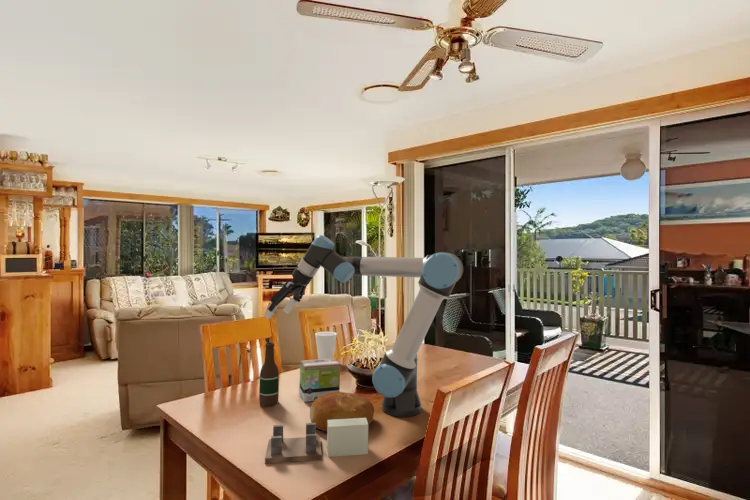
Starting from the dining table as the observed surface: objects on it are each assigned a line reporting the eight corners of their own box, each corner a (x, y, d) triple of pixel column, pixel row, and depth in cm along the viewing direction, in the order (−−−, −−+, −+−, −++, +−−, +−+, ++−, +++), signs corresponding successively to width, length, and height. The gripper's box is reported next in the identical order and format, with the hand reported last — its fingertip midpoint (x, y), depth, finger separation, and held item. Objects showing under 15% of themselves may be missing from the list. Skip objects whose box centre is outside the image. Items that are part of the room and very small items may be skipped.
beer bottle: (273, 408, 158) (274, 345, 158) (255, 406, 160) (255, 344, 160) (282, 400, 166) (282, 341, 166) (264, 399, 168) (265, 340, 168)
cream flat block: (365, 446, 129) (365, 417, 129) (367, 454, 124) (368, 424, 124) (327, 448, 127) (327, 419, 127) (327, 457, 122) (328, 426, 122)
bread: (353, 406, 162) (353, 380, 162) (386, 428, 142) (386, 399, 142) (298, 418, 150) (299, 390, 150) (326, 444, 130) (327, 412, 130)
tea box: (303, 403, 164) (304, 366, 164) (299, 394, 173) (299, 359, 173) (340, 398, 169) (340, 362, 169) (333, 390, 179) (333, 356, 179)
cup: (315, 360, 228) (315, 331, 228) (336, 359, 229) (336, 331, 229) (314, 366, 216) (314, 335, 216) (336, 365, 217) (337, 335, 217)
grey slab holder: (320, 440, 132) (320, 420, 132) (321, 459, 120) (321, 437, 120) (268, 444, 129) (269, 423, 129) (265, 463, 117) (265, 441, 117)
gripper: (313, 264, 170) (286, 304, 174) (280, 266, 147) (250, 312, 151) (326, 275, 168) (299, 316, 172) (295, 279, 145) (264, 325, 149)
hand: (276, 314), depth 161 cm, fingers open, 13 cm apart
